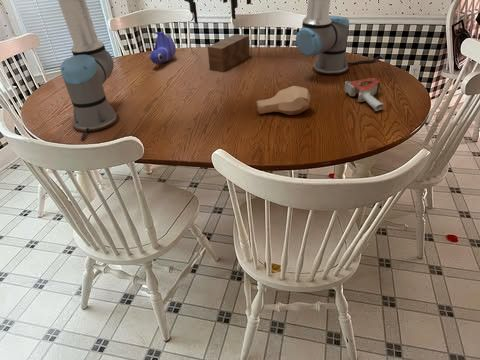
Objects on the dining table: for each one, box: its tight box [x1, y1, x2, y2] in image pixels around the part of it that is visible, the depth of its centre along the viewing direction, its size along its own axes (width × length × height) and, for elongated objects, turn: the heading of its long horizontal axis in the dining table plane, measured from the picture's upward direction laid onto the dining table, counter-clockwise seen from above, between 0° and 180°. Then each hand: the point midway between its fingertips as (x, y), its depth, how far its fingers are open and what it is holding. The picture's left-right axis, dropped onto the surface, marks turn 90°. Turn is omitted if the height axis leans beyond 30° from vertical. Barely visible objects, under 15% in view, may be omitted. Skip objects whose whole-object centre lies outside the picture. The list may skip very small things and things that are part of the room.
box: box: [207, 33, 251, 73], centre depth 178 cm, size 24×8×11 cm, turn 148°
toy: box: [148, 31, 177, 69], centre depth 182 cm, size 10×17×25 cm
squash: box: [255, 85, 312, 116], centre depth 130 cm, size 11×20×9 cm, turn 92°
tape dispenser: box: [343, 77, 384, 112], centre depth 136 cm, size 18×5×20 cm
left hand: (215, 20), depth 126 cm, fingers open, 13 cm apart
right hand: (236, 3), depth 172 cm, fingers open, 13 cm apart
